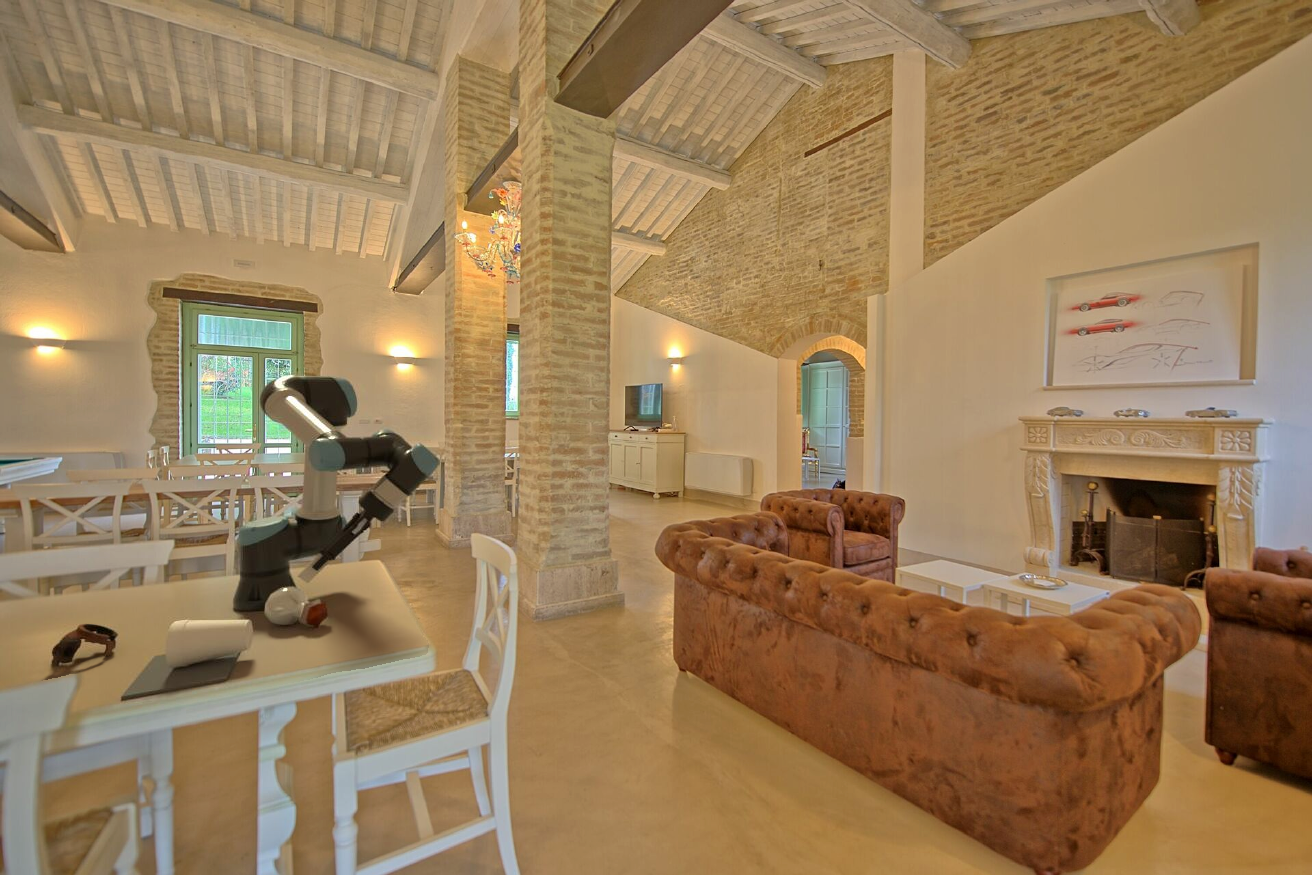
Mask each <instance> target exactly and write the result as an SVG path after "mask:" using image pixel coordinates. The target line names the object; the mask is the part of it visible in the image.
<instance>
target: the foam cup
mask: <svg viewBox="0 0 1312 875" xmlns="http://www.w3.org/2000/svg"><path fill="white" fill-rule="evenodd" d="M253 630H254V629H253V623H252V620H251V619H211V620H210V619H209V620H207V619H203V620H201V619H200V620H199V619H198V620H196V619H194V620H192V619H183V620H175V621H174V622H173V623H172V624H171V625H170V627H169V630H168V631H167V637H166V641H165V653H164V654H166V660H167V664H168V666H169V667H170V668H179V667H186V666H188V665H191V664H195V663H199V662H203V661H207V660H211V659H215V658H219V657H223V656H227V655H230V654H234V653H238V652H240V653H241V652H245V651H249V650H250V648H251V646H252V642H253V633H254V631H253Z"/></svg>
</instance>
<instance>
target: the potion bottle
mask: <svg viewBox="0 0 1312 875" xmlns="http://www.w3.org/2000/svg"><path fill="white" fill-rule="evenodd" d="M296 587H297V586H296ZM296 587H294V586H292V587H281V588H280V589H278V590H277V591H275V592H273V593H272V594H271V595H270V596H269V598H268V600H267V601H266V603H265V609H264V612H263V613H264V615H265V616H266V618H267V619H268V620H269V621H270V622H271V623H272V624H276V625H278V626H287V625H289V626H290V625H293V624H295V623H297V622H298V623H301V624H303V625H306V626H308V627H314V628H319V626H320V625H321V624H322V623H323V622H324V621H325V619H326V618H327V617H328V616H329V613H328V608H327V604H326V601H324V602H321V598H317V599H314V600H312V601H309V597H308V595H307V594H306V593H305V591H304V590H302V589H300V588H298V587H297V588H296Z"/></svg>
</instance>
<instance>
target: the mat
mask: <svg viewBox="0 0 1312 875" xmlns="http://www.w3.org/2000/svg"><path fill="white" fill-rule="evenodd" d="M240 654H241V652H238V653H234V654H230V655H227V656H223V657H219V658H215V659H211V660H207V661H203V662H199V663H195V664H191V665H188V666H186V667H179V668H170V667H169V666H168V664H167V660H166V654H165V653H164V654H159V655H154V656H153V657H152V659H151V660H150V661H149V662H148V664H147V665H146V666H144V668H143V670H141V672H140V673H139V674H138V675H137V677H136V678H135V679H134V680H133V682H132V683H131V684H130V685H129V686H128V687H127V689H126V690H125V691H124V692H123V693H122V694H121V696H120V700H126V699H134V698H137V697H138V698H139V697H143V696H149V695H155V694H160V693H165V692H166V693H167V692H171V691H176V690H181V689H189V688H193V687H199V686H203V685H211V684H215V683H221V682H227V681H228V678H229V676H230V674H231V672H232V670H233V668H234V666H235V664H236V663H237V660H238V658H239V656H240Z"/></svg>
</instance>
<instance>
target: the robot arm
mask: <svg viewBox="0 0 1312 875" xmlns="http://www.w3.org/2000/svg"><path fill="white" fill-rule="evenodd" d="M259 403H260V408H261V410H262V412H263V413H264V415H265V416H266V417H268V419H270V420H271V421H272V422H275V423H277V424H281V425H283V427H284V428H286V429H287V430H288V431H290V433H291V434H292V435H294V436H295V437H296V438H297V439H298V440H299V441H300V442H301V443H302V444H304V446H305V451H304V452H305V453H304V464H303V465H304V466H303V468H304V469H303V485H302V499H301V501H302V502H301V506H300V507H299V508H297V509H296V511H295V512H294V513H295V514H294V516H295V517H294V519H289V518H288V517H287V516H284V515H277V516H273V517H272V516H271V517H270V516H268V517H264V518H260V519H256V520H253V521H252V520H251V521H249V522H247V523H245V524H243V525H242V526H241V527H240V528H239V530H238V539H237V540H238V541H237V545H238V560H239V563H238V564H239V580H238V583H237V587H236V590H235V593H234V595H233V598H232V599H233V600H232V605H233V606H232V608H233V609H234V610H236V611H243V612H246V611H247V612H251V611H252V612H253V611H261V610H263V611H264V610H265V603H266V601H267V600H268V598H269V596H270V595H271V594H272V593H273V592H275V591H277V590H278V589H280V588H281V587H292V586H294V587H296V588H298V587H297V584H296V582H295V581H294V578H293V575H292V573H291V569H290V568H291V567H290V566H291V565H290V562H291V561H294V560H296V561H297V560H302V559H305V558H313V557H314V559H312V560H311V561H310V562H309V563H308V564H307V566H306V567H305V568H303V569H302V570H301V572H299V573H298V574H297V578H299V579H300V580H302V581H303V582H304V583H305V584H309V583H311V581H312V580H313V579H314V578H315V577H316V576H317V575H319V573H320V572H322V570H323V569H324V568H325V567H326V566H327V565H328V564H329V563H330V562H331V561H335V560H336V558H337V557H338V556H340V554H341V553H342V552H343V551H344V550H345V549H346V548H347V547H349V546H350V544H352V543H353V541H355V539H357V538H358V537H359V536H360V535H361V534H363V533H364V532H365V531H367V530H368V529H369V528H370V527H371V521H372V520H373V519H374V518H375V519H376V520H378V521H379V522H381V523H382V522H383V523H384V522H385V521H387V519H389V517H390V516H391V515H393V513H394V511H395V509H398V508H399V507H400V506H401V505H402V503H404V504H406V503H407V502H408V498H409V497H410V496H411V495H412V494H413V493H414V492H415V491H416V490H417V489H418V488H419V487H420V486H421V485H422V484H423V483H424V482H425V481H426V480H427V479H428V478H429V477H431V476H432V474H433V473H435V471H436V470H437V468H438V467H439V466H440V464H441V460H440V458H439V457H437V456H436V455H435V454H434V453H433V452H432V451H431V450H429V449H428V447H426V446H425V445H424V444H422V443H421V442H417V443H416V444H415V445H413V446H412V445H411V444H410V443H408V441H406V440H405V439H404V437H403V436H401V435H400V434H398V433H396V432H395V431H393V430H390V429H380V430H378V431H376V432H375V433H373V434H372V435H371V436H359V437H358V436H357V437H355V436H354V437H353V436H352V437H347V436H346V435H345V434H343V433H342V432H341V430H342V429H344V428H345V427H346V426H347V425H348V418H352V417H354V416H355V414H356V413H357V410H358V397H357V394H356V391H355V388H354V386H353V384H351V382H350V381H349V380H347V379H346V378H343V377H334V376H323V375H322V376H321V375H320V376H318V375H317V376H316V375H292V374H291V375H283V376H280V377H277V378H275V379H273V380H271V381H270V382H268V383H267V384H266V385H265V386H264V387H263V389H262V391H261V393H260V397H259ZM381 467H382V468H383V467H385V468H387V469H388V471H387V472H386V473H385V474H384V475H383V476H382V477H380V479H378V480H377V482H376V483H374V484H373V485H372V486H371V489H372V490H367V492H366V493H365V494H363V495H362V497H360V499H359V500H358V504H359V506H360V507H362V509H363V510H362V511H361V512H360V513H359V512H357V511H356V513H355V514H353V515H352V516H351V517H352V518H351V519H350V520H349V521H347V518H346V517H345V516H344V514H342V513H341V509H339V508H338V507H337V506H336V499H337V489H338V488H337V487H338V473H339V472H338V471H346V470H347V471H348V470H358V469H359V470H360V469H370V468H381ZM394 508H395V509H394Z"/></svg>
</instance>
